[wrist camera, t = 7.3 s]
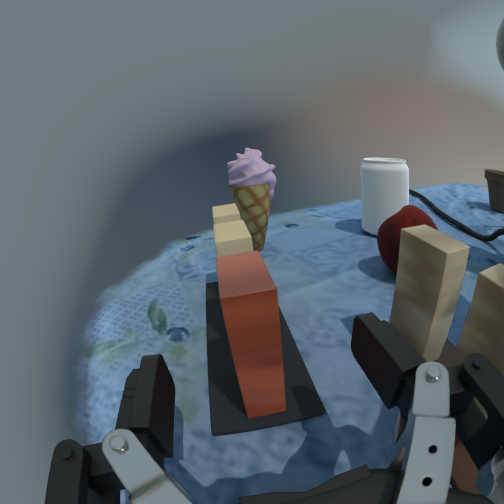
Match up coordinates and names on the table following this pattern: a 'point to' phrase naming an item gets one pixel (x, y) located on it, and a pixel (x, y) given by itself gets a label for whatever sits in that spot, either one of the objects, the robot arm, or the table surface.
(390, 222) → the apple
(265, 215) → the ice cream cone
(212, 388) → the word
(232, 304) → the orange rectangular block
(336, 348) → the table surface
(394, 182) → the beverage can
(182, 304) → the table surface
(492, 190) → the flower pot
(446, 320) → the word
